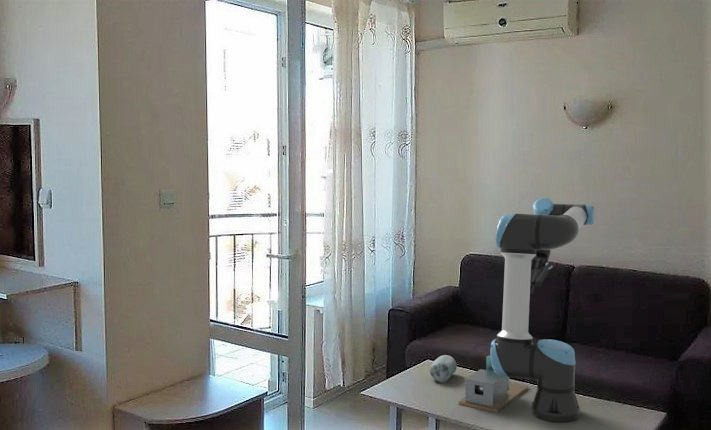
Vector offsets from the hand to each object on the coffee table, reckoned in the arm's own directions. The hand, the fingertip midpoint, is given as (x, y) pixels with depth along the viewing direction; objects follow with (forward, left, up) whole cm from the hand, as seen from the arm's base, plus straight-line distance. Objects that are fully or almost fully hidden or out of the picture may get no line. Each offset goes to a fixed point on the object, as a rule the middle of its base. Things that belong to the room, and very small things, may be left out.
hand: (524, 299), depth 259 cm
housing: (-10, +21, -30) cm, 38 cm away
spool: (+14, +27, -30) cm, 43 cm away
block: (-12, +24, -28) cm, 39 cm away
